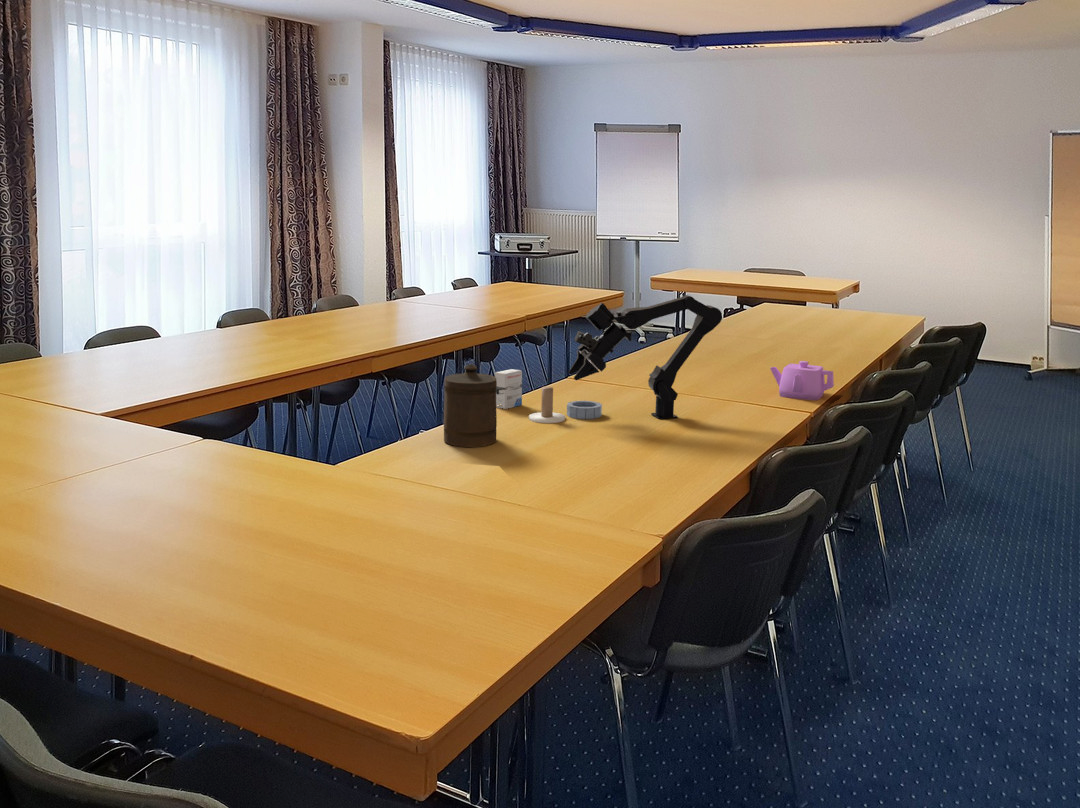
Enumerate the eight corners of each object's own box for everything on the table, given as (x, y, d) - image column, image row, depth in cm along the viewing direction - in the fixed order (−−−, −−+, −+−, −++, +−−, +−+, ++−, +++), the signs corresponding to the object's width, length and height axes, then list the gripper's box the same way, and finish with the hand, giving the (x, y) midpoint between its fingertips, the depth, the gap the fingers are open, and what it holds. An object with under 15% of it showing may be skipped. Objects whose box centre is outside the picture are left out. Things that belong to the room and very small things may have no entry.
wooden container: (502, 436, 276) (502, 361, 271) (488, 449, 261) (488, 370, 257) (452, 432, 279) (452, 358, 274) (437, 445, 264) (436, 367, 260)
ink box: (511, 403, 318) (511, 368, 316) (522, 405, 315) (522, 370, 313) (494, 407, 312) (494, 371, 309) (505, 409, 309) (505, 373, 306)
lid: (569, 422, 293) (570, 390, 291) (534, 424, 290) (535, 392, 288) (558, 414, 304) (559, 383, 302) (524, 416, 301) (524, 385, 298)
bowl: (606, 418, 299) (606, 407, 298) (573, 419, 296) (573, 408, 295) (594, 410, 309) (594, 399, 308) (562, 412, 306) (563, 401, 305)
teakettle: (836, 399, 331) (839, 364, 328) (793, 402, 326) (796, 366, 323) (808, 389, 347) (810, 356, 344) (767, 392, 342) (769, 358, 339)
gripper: (584, 318, 301) (549, 353, 302) (596, 326, 283) (558, 363, 284) (608, 343, 304) (573, 377, 305) (621, 352, 286) (584, 389, 287)
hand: (572, 376), depth 295 cm, fingers open, 9 cm apart
